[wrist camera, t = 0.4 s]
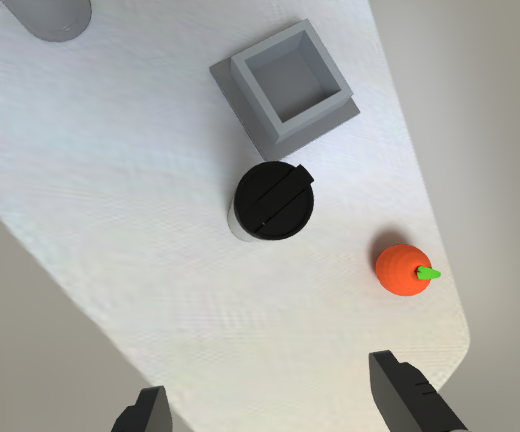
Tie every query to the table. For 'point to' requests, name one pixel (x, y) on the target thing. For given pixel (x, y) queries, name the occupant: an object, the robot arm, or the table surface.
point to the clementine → (404, 270)
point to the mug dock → (286, 91)
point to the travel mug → (271, 202)
